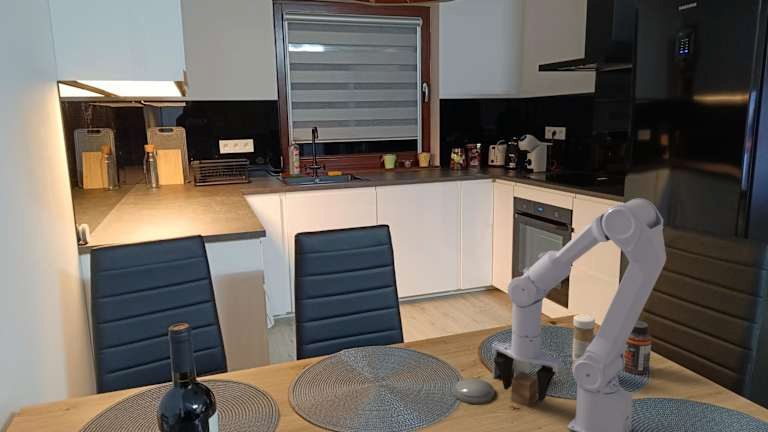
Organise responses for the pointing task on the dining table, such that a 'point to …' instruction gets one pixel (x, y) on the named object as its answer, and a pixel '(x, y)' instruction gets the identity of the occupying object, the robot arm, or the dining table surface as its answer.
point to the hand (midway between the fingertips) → (524, 393)
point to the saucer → (473, 391)
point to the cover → (518, 366)
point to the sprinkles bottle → (582, 335)
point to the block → (524, 389)
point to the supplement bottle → (638, 350)
